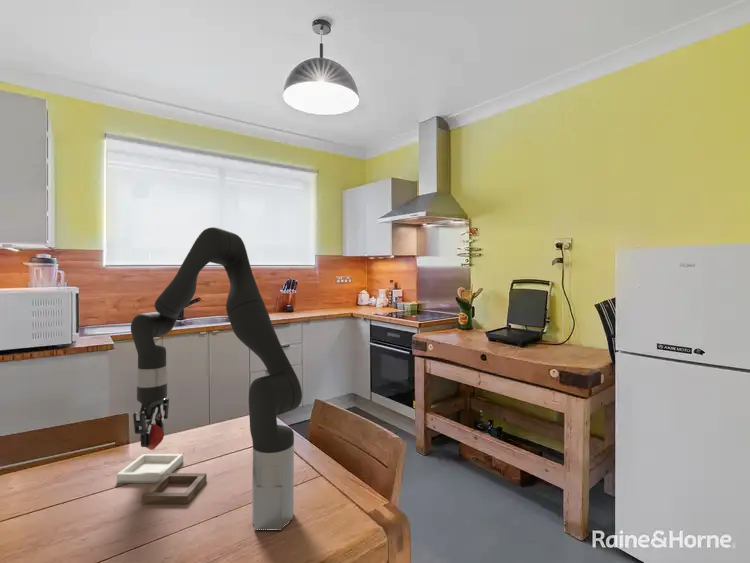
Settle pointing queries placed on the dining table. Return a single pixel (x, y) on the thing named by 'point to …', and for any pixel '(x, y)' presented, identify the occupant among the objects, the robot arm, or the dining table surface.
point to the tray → (149, 468)
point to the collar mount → (174, 498)
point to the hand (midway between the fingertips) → (152, 441)
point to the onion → (155, 436)
